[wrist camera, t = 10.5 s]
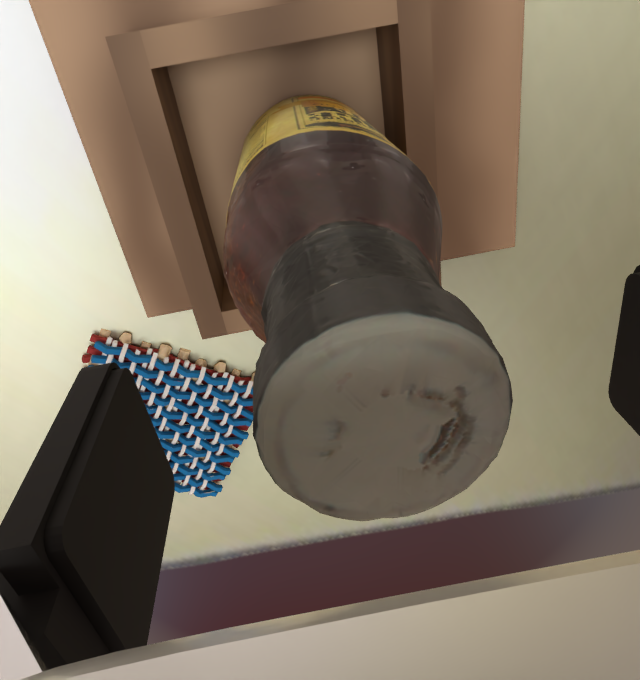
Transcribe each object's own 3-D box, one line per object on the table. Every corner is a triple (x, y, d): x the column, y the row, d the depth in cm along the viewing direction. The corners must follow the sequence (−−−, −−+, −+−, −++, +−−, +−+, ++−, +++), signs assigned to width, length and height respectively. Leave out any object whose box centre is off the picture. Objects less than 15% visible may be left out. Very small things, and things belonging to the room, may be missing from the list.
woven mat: (95, 314, 30) (86, 332, 28) (272, 369, 33) (273, 389, 31) (57, 449, 34) (46, 471, 33) (216, 486, 37) (214, 508, 36)
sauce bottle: (398, 164, 26) (680, 444, 9) (303, 250, 27) (386, 624, 10) (305, 50, 23) (459, 138, 6) (206, 154, 25) (103, 456, 8)
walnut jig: (516, -136, 21) (587, -177, 17) (505, 238, 30) (550, 276, 25) (21, -47, 21) (-40, -65, 17) (151, 307, 29) (134, 358, 25)
